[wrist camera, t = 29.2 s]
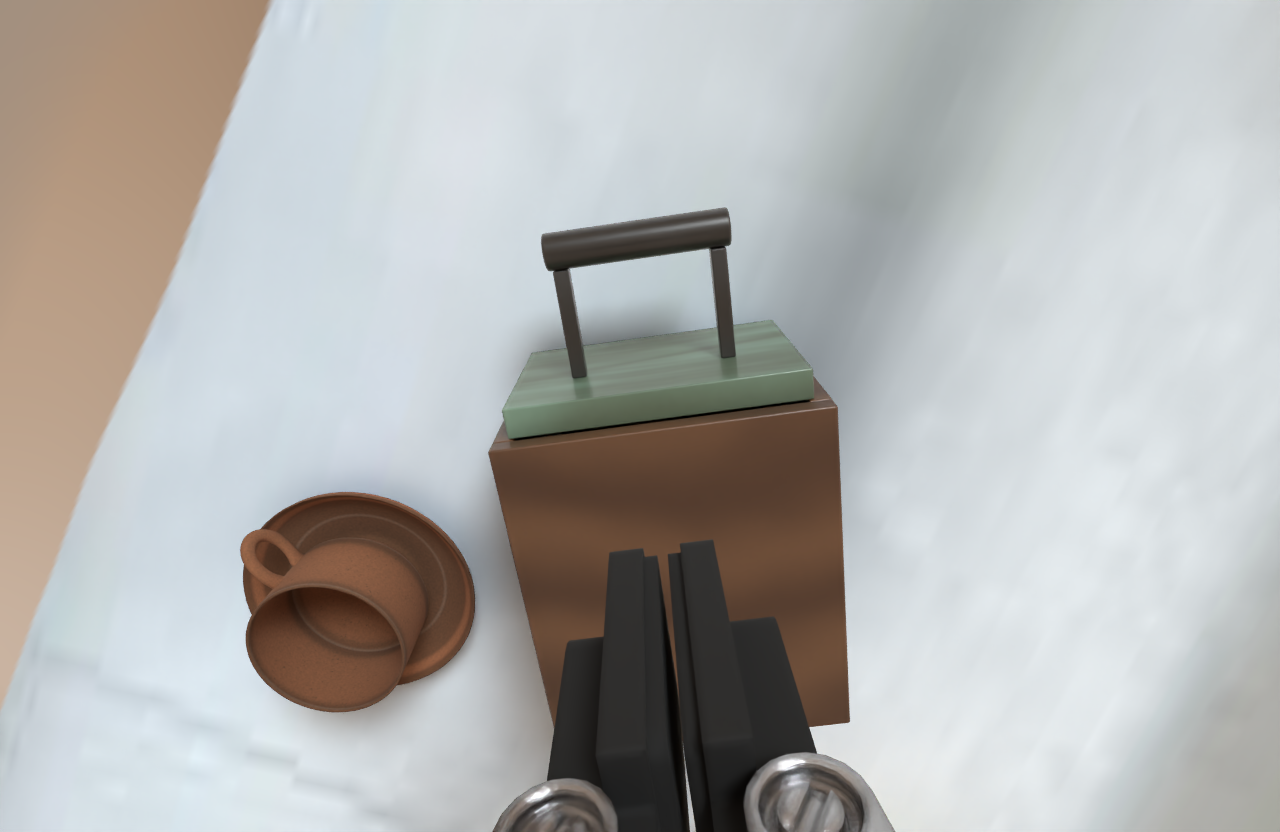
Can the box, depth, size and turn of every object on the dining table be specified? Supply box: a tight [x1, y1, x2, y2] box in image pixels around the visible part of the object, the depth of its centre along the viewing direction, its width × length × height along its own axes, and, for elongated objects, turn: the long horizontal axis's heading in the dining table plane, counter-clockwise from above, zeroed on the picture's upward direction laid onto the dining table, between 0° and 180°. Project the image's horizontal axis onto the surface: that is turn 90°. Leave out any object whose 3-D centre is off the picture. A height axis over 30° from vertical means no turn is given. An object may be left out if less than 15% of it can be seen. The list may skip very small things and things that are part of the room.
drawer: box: [502, 208, 814, 439], centre depth 30 cm, size 19×11×8 cm, turn 8°
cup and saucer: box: [240, 492, 475, 712], centre depth 35 cm, size 12×12×6 cm
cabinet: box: [488, 376, 850, 740], centre depth 31 cm, size 15×13×10 cm
